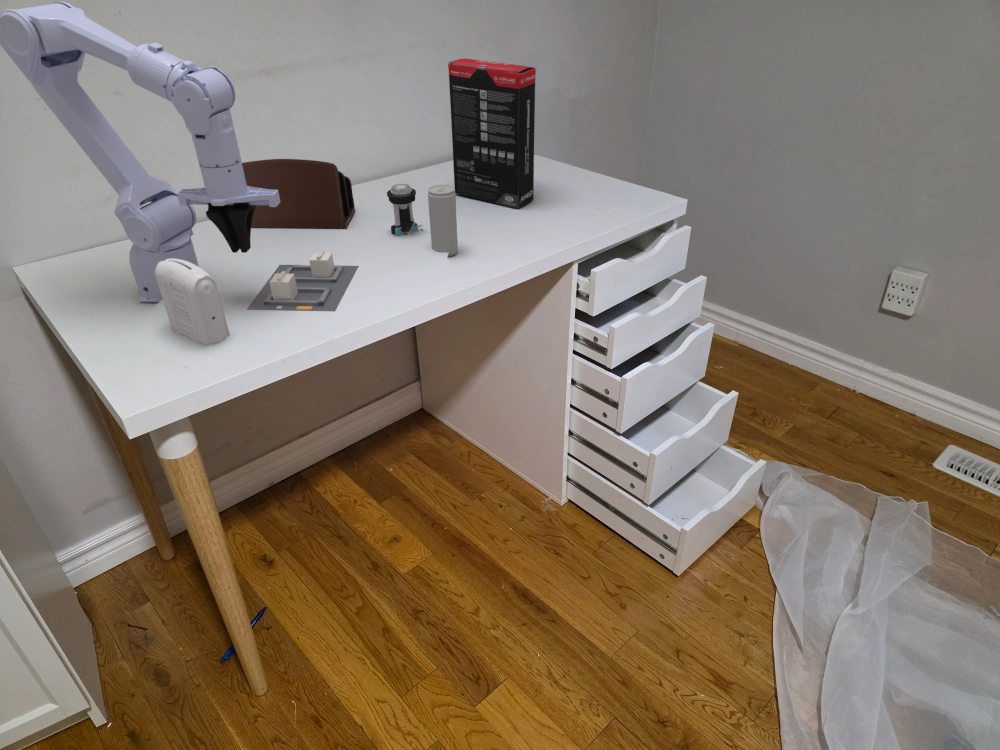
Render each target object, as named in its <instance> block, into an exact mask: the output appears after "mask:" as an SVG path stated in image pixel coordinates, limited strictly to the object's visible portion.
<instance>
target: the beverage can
mask: <svg viewBox="0 0 1000 750" xmlns="http://www.w3.org/2000/svg"><path fill="white" fill-rule="evenodd" d="M427 192H428V193H427V200H428V201H427V203H428V214H429V215H428V216H429V227H430V241H431V242H430V243H431V249H432V250H433V251H435V252H438V253H448V255H447V258H450V257H453V256H455V255H456V254H457V253H458V250H459V247H458V246H459V245H458V242H459V241H458V227H457V226H458V225H457V200H456V199H457V198H456V195H457V194H455V186H452V185H449V184H435V185H432V186H430V187H428V191H427Z"/></svg>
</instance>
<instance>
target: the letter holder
mask: <svg viewBox="0 0 1000 750" xmlns="http://www.w3.org/2000/svg"><path fill="white" fill-rule="evenodd" d="M242 166H243V170H244V175H245V179H246V184H247V186H250V187H256V188H262V189H270V190H278V192H279V197H280V203H279V205H277V207H270V206H269V205H256V208H255V212H254V215H253V219H252V225H251V229H265V230H266V229H276V230H277V229H280V230H282V229H285V230H286V229H287V230H291V229H292V230H347V228H348V226H349V225H350V223H351V221H352V219H353V217H354V215H355V213H356V207H355V201H354V195H353V187H352V181H351V178H349V177H348V176H346V175H345V173H343V172H342V171H341V170H339V168H338V167H337V165H336V164H334V163H331V162H328V161H320V160H312V159H298V158H271V159H270V158H269V159H260V160H250V161H244V162H242Z"/></svg>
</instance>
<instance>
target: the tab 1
mask: <svg viewBox="0 0 1000 750" xmlns="http://www.w3.org/2000/svg"><path fill="white" fill-rule="evenodd" d="M269 283H270V287H271V292H272V296H273V300H294V299H295V297H296V296H297V294H298V290H297V285H296V280H295V276H294V274H286V271H282V272H281V273H276V274H275V275H274V276H273V278H272V279H271V280H270V282H269Z"/></svg>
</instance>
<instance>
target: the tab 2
mask: <svg viewBox="0 0 1000 750" xmlns="http://www.w3.org/2000/svg"><path fill="white" fill-rule="evenodd" d="M308 261H309V265H310V266H311V272H312V277H313V278H332V276H333V275H334V273H335V268H334V266H335V264H334V257H333V252H325V250H324V249H323V250H320V251H318V252H314V253H313V254H312V256H311V257H310V259H309V260H308Z"/></svg>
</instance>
